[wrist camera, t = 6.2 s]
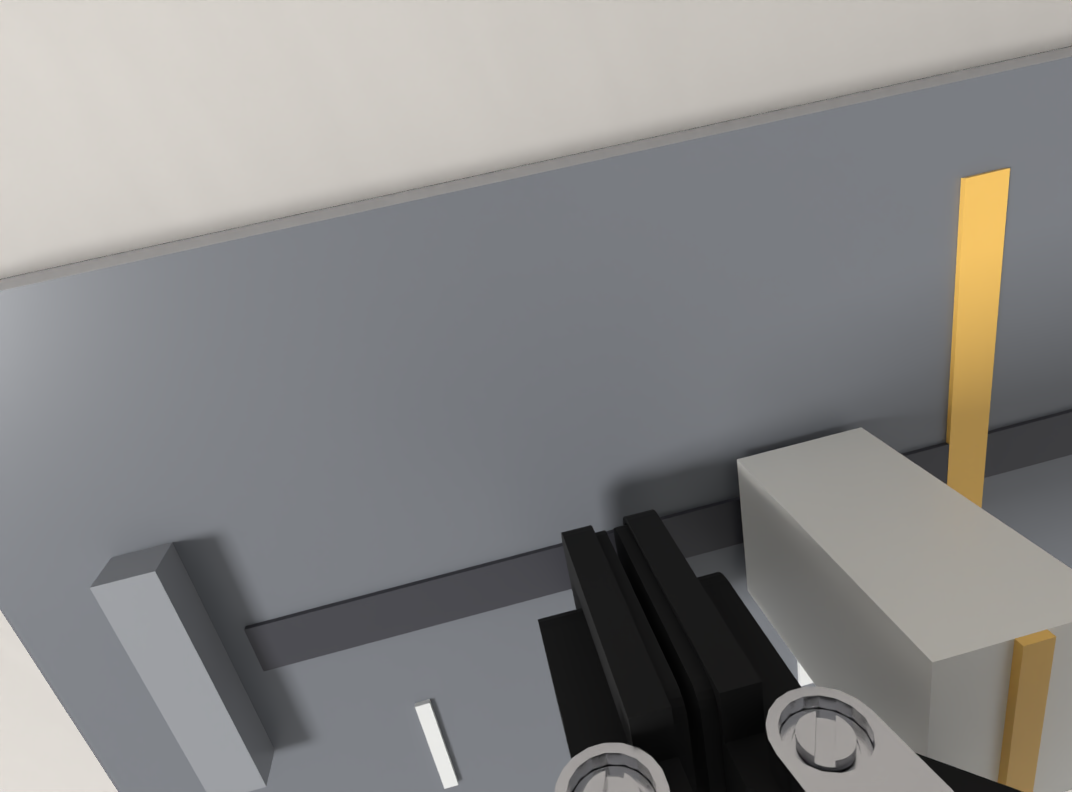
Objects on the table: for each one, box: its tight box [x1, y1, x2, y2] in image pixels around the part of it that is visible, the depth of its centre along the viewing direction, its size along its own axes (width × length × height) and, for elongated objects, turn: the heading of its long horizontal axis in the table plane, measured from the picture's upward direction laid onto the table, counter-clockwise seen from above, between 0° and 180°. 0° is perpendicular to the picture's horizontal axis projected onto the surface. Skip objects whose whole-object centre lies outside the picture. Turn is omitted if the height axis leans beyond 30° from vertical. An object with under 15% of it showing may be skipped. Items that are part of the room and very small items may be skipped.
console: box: [0, 46, 1072, 792], centre depth 14 cm, size 14×30×3 cm, turn 101°
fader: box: [737, 427, 1072, 792], centre depth 10 cm, size 3×2×5 cm
